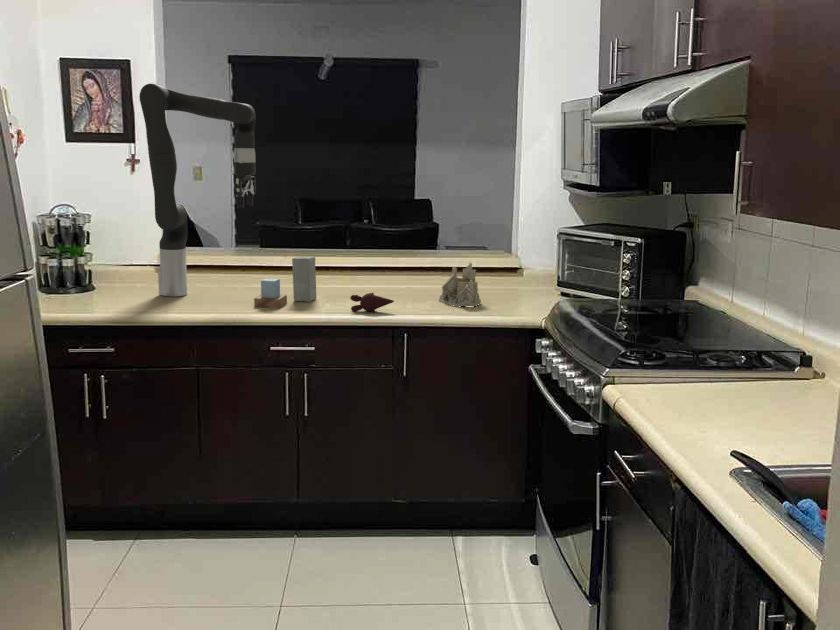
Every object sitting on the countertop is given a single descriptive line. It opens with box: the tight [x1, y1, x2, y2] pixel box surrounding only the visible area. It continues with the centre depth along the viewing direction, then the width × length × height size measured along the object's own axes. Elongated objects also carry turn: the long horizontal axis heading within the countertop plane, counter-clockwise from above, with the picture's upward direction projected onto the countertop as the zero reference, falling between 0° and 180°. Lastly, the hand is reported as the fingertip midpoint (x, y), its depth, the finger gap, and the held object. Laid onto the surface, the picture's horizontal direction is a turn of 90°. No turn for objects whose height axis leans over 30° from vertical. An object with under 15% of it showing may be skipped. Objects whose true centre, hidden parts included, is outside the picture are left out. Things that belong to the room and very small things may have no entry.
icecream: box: [350, 292, 395, 313], centre depth 300 cm, size 7×7×15 cm
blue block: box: [260, 277, 281, 298], centre depth 306 cm, size 5×5×6 cm
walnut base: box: [253, 294, 288, 309], centre depth 307 cm, size 9×9×4 cm
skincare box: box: [291, 255, 317, 303], centre depth 316 cm, size 8×7×16 cm
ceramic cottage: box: [438, 262, 482, 308], centre depth 318 cm, size 16×16×15 cm
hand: (245, 206), depth 314 cm, fingers open, 8 cm apart
